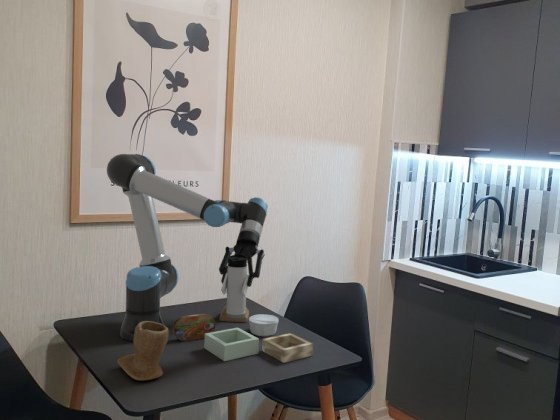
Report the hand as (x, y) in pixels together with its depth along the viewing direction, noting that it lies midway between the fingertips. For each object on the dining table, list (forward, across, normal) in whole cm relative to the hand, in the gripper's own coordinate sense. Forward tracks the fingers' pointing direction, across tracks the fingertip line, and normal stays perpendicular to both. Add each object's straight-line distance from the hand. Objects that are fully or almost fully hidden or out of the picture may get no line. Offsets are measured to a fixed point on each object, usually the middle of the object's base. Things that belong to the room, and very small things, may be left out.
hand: (233, 293), depth 166 cm
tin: (+7, +18, -22) cm, 29 cm away
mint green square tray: (+12, +1, -17) cm, 21 cm away
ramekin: (-3, -4, -33) cm, 33 cm away
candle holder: (-12, +11, -42) cm, 45 cm away
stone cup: (+30, +20, 0) cm, 36 cm away
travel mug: (+4, 0, -9) cm, 9 cm away
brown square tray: (+9, -17, -20) cm, 28 cm away
